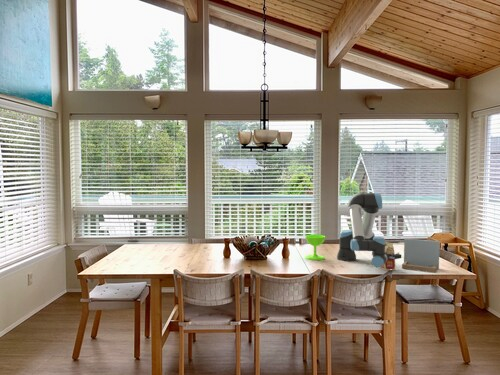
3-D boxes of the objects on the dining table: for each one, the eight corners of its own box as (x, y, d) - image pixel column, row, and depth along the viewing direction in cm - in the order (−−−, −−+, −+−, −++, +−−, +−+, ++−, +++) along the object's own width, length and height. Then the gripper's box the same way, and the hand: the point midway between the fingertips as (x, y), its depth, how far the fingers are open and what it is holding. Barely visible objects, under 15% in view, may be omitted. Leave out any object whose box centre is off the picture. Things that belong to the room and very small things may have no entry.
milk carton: (385, 270, 278) (385, 242, 277) (378, 267, 287) (379, 240, 286) (396, 270, 279) (397, 242, 279) (389, 267, 288) (390, 240, 288)
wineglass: (311, 260, 306) (311, 238, 306) (301, 256, 321) (301, 235, 321) (328, 259, 312) (329, 237, 312) (318, 255, 327) (318, 234, 327)
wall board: (400, 268, 285) (401, 241, 284) (404, 264, 297) (404, 238, 297) (436, 272, 272) (437, 244, 271) (438, 268, 285) (439, 241, 284)
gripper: (363, 261, 274) (371, 256, 292) (401, 265, 261) (406, 260, 279) (364, 250, 274) (371, 246, 292) (401, 254, 261) (406, 249, 279)
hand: (388, 253), depth 285 cm, fingers open, 13 cm apart
